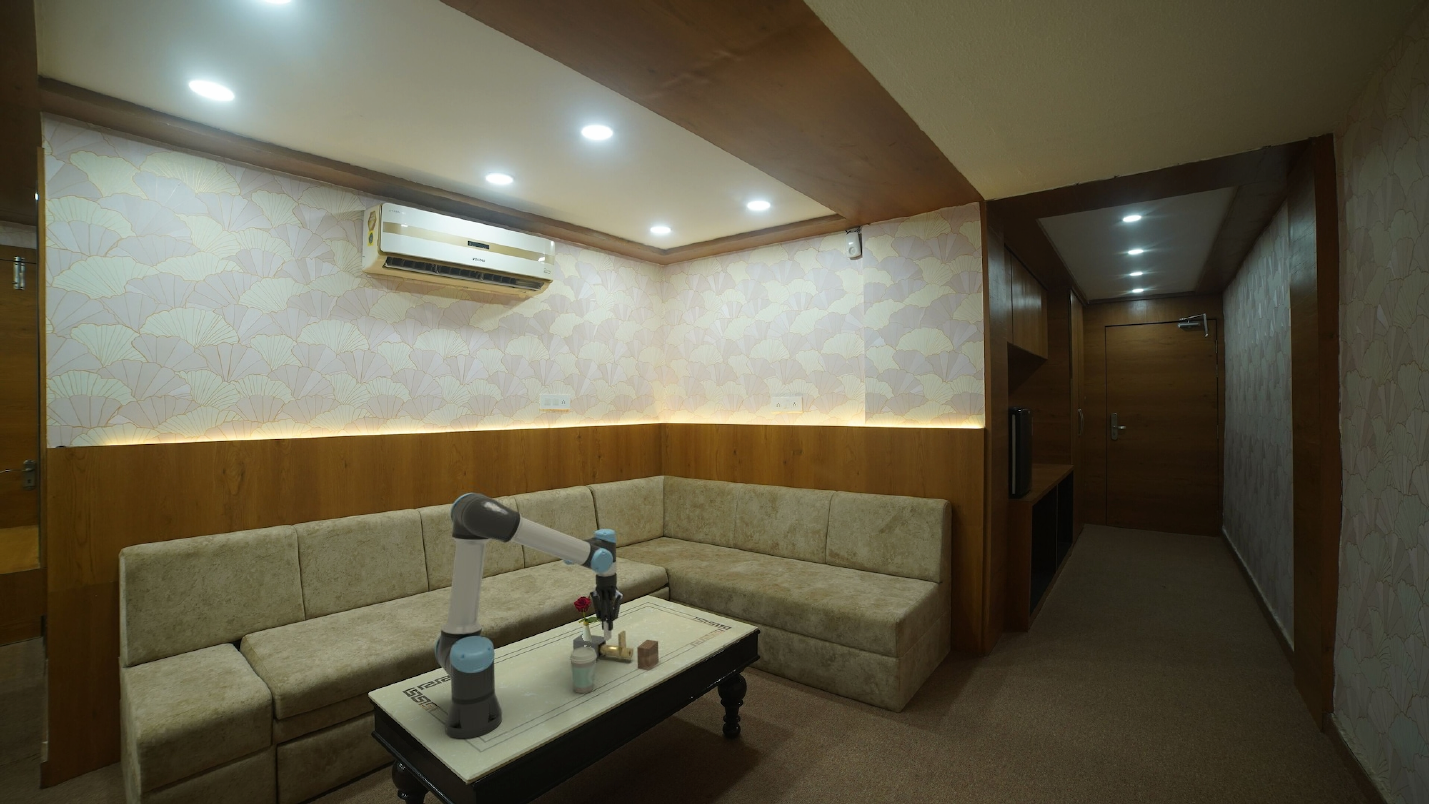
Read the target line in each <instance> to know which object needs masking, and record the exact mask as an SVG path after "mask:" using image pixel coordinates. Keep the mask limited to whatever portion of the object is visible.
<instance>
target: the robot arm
mask: <svg viewBox="0 0 1429 804" xmlns="http://www.w3.org/2000/svg"><path fill="white" fill-rule="evenodd" d="M449 514H450V515H449V516H450V520H451V522H452V532H451V538H452V539H453V540H454V541H455V543H456V544H455V552H454V562H453V571H452V580H451V588H450V597H449V605H448V615H447V620H446V622H445V623H444V624H442V626H441V629H440V635H438V636H439V637H438V638H437V640H436V643H435V646H434V655H435V659H436V661H437V663H438V665H439V666H440V667H442V670H444V671H445V673H447V675H448V676H449V678H450V685H451V686H450V687H451V692H450V693H451V702H450V705H449V709H448V713H447V716H446V719H445V733H446V734H447V735H448V736H449V737H451V738H454V739H473V738H477V737H480V736H483V735H486V734H487V733H490V732H492V731H494V730H495V729H497V727H499V725H500V724H501V722H502V720H503V710H502V707H501V705H500V702H499V700H498V697H497V695H496V680H495V677H496V675H495V655H496V653H495V649H494V644H493V641H492V640H491V639H489V638H488V637H485V636H482V632H483V631H482V630H483V625H482V624H481V622H480V621H479V613H480V612H479V611H480V602H481V591H482V582H483V576H484V575H483V574H484V565H485V564H484V563H485V557H486V546H487V543H488V542H489V541H490V540H496V541H499V542H502V543H504V544H508V543H510V542H512V543H516V544H518V545H522V546H524V547H527V548H529V549H533V550H536V551H539V552H541V553H544V554H547V555H549V556H552V557H556V558H558V559H561V560H562V561H563V563H564V564H565V565H566V566H568V565H569V566H570V565H575V564H576V565H578V566H581V567H583V568H587V569H588V570H592V571H593V572H595V585H596V586H595V589H594V590H592V591H590V592H589V596H590V597H591V600H592V603H593V609H594V613H595V617H596V620H600V621H601V629H602V631H603V637H604V640H606V642H608V641H609V640H610V639H612V631H613V630H614V621H616V620H617V619H618V618H619V615H620V614H619V613H620V608H621V605H622V604H621V602H622V599H623V597H624V596H625V595H624V593H623V592H620V591H619V588H618V587H617V583H618V573H617V570H618V569H617V567H618V566H617V538H616V537H617V536H616V531H615V530H613V529H610V528H601V529H598V530H596V531H594V535H593V537H591V538H584V539H580V538H576V537H574V536H572V535H568V534H566V533H564V532H561V531H559V530H556V529H554V528H551V527H549V526H546V525H543V524H541V523H537V522H535V521H532V520H530V519H528V518H525V517H522V514H521V513H520V512H519V511H516V510H514V509H512V508H510V507H508V506H505V504H503V503H501V502H499V501H497V500H496V499H494V498H491V497H489V496H486V495H485V494H482V493H478V492H477V493H476V492H470V493H465V494H462V495H460V496H459V497H458V498H457V499H455V501H454V502H453V504H452V505H451V508H450V513H449Z"/></svg>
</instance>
